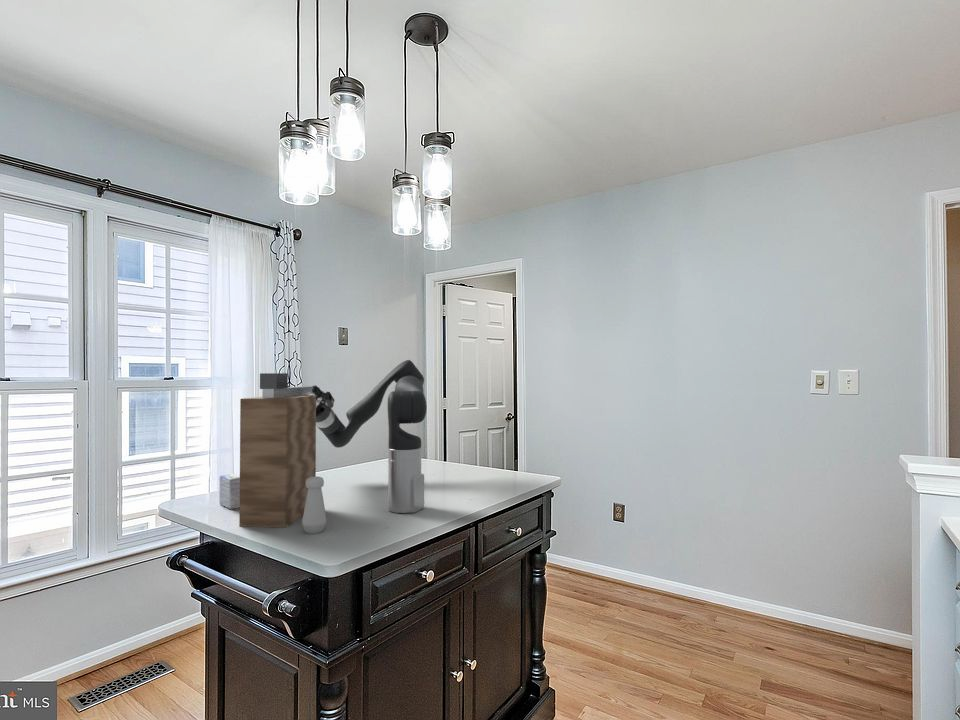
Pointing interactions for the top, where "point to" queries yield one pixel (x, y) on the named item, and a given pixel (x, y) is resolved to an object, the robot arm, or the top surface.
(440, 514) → the top surface
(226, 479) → the medicine box
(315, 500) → the salt shaker
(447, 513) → the top surface
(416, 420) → the robot arm
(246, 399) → the stand
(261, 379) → the gray stepped bar
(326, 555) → the top surface
